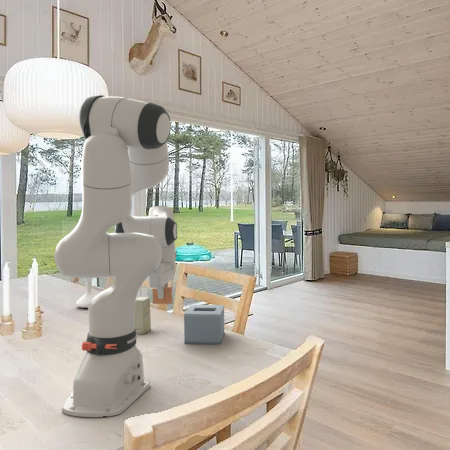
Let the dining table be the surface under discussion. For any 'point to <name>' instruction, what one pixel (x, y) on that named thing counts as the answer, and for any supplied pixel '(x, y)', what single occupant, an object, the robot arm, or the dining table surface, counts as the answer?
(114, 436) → the dining table surface
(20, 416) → the dining table surface
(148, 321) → the skincare box
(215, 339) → the coin box
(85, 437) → the dining table surface
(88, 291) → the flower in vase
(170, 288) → the token
